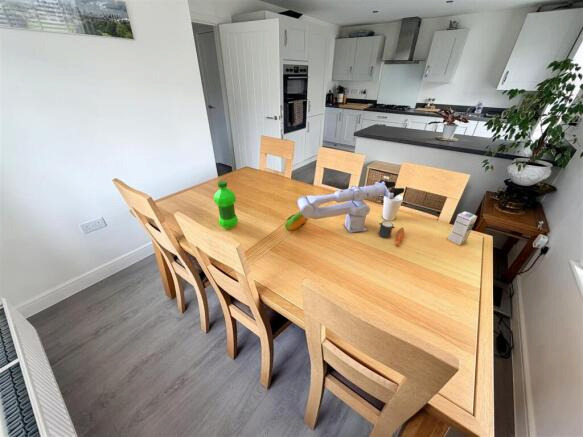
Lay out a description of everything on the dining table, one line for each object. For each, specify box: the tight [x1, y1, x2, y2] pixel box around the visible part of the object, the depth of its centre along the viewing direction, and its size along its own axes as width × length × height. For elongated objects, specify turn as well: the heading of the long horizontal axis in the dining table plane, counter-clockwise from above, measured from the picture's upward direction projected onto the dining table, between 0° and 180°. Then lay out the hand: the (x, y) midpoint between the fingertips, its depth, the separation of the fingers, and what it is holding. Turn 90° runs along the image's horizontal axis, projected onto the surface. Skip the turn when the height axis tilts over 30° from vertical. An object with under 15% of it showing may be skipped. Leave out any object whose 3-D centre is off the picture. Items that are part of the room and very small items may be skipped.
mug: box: [378, 220, 396, 239], centre depth 116 cm, size 6×7×7 cm
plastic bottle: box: [213, 180, 239, 230], centre depth 118 cm, size 10×10×25 cm
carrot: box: [395, 227, 405, 247], centre depth 115 cm, size 16×3×3 cm, turn 150°
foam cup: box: [382, 194, 404, 221], centre depth 129 cm, size 10×9×13 cm
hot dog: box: [284, 211, 308, 232], centre depth 124 cm, size 7×8×20 cm
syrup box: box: [447, 211, 478, 246], centre depth 110 cm, size 6×6×14 cm
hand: (399, 187), depth 115 cm, fingers open, 7 cm apart
